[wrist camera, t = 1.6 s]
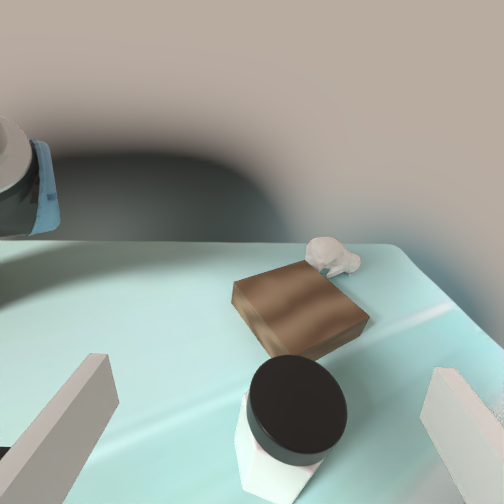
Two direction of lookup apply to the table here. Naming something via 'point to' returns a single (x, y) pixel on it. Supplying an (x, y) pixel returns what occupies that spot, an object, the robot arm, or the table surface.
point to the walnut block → (297, 311)
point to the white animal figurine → (331, 256)
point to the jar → (287, 426)
